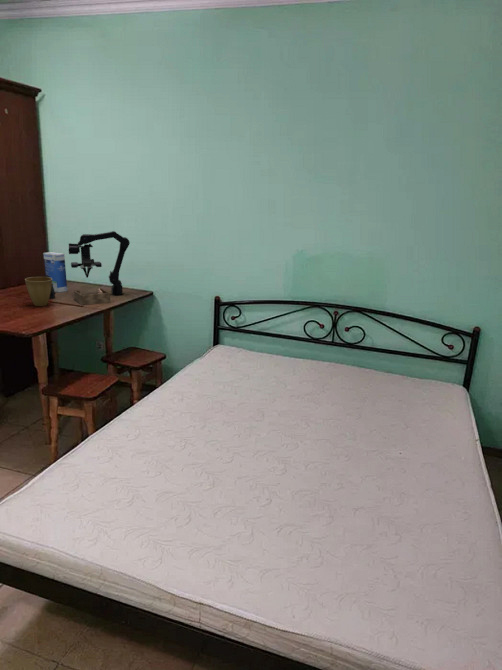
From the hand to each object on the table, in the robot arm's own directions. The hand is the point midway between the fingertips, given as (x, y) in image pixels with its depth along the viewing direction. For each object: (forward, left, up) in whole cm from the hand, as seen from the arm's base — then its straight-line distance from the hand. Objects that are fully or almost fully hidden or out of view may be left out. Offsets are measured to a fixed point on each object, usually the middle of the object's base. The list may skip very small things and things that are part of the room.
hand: (87, 277), depth 310 cm
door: (-3, +15, -12) cm, 19 cm away
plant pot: (+33, +13, -12) cm, 38 cm away
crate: (+3, +17, -12) cm, 21 cm away
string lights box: (+14, -23, -12) cm, 30 cm away
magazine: (+27, -4, -12) cm, 30 cm away
